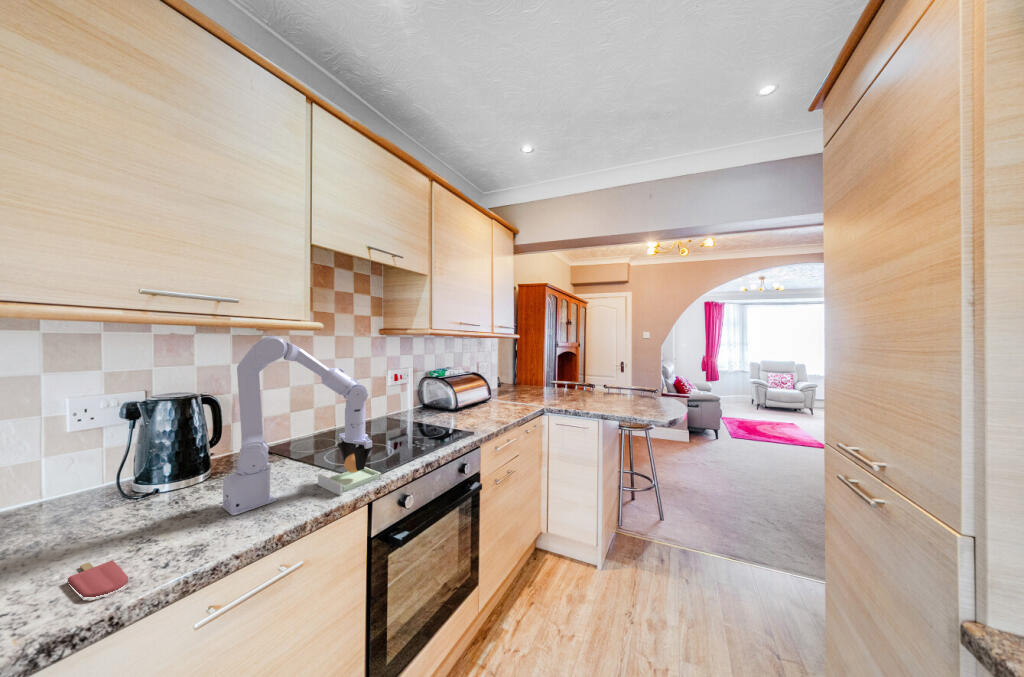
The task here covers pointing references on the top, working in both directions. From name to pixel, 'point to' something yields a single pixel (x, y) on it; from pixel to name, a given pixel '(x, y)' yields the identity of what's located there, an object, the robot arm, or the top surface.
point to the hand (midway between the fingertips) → (354, 467)
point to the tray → (356, 478)
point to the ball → (350, 464)
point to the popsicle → (98, 579)
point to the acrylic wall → (330, 484)
